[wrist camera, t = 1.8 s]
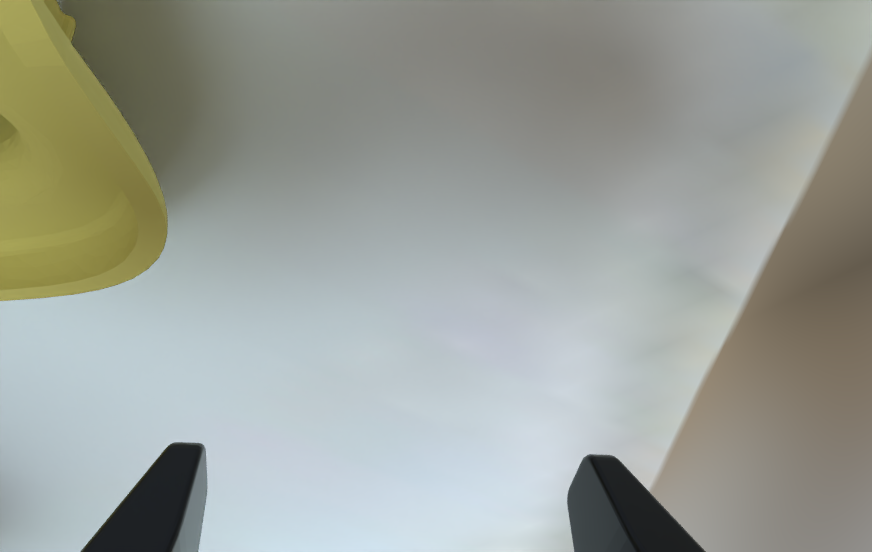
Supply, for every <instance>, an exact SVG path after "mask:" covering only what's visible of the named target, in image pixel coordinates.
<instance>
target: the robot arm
mask: <svg viewBox="0 0 872 552" xmlns="http://www.w3.org/2000/svg"><path fill="white" fill-rule="evenodd" d="M206 496H207V467H206V449H205V447H204V445H203V444H201V443H183V442H176V443H172V444H170V445H169V446H168V447H167V448H166V449H165V450H164V451H163V452H162V454H161V455H160V456H159V457H158V458H157V460H156V461H155V462H154V463H153V465H152V466H151V467H150V468H149V469H148V471H147V472H146V473H145V474H144V475H143V477H142V478H141V479H140V480H139V482H138V483H137V484H136V485H135V486H134V488H133V489H132V490H131V491H130V492H129V494H128V495H127V496H126V497H125V498H124V500H123V501H122V502H121V503H120V505H119V506H118V507H117V508H116V509H115V511H114V512H113V513H112V514H111V515H110V517H109V518H108V519H107V520H106V522H105V523H104V524H103V525H102V526H101V528H100V529H99V530H98V531H97V532H96V534H95V535H94V536H93V537H92V539H91V540H90V541H89V542H88V543H87V545H86V546H85V547H84V548H83V549H82V551H81V552H198V549H199V542H200V536H201V529H202V523H203V516H204V510H205V503H206ZM567 504H568V512H569V519H570V525H571V532H572V539H573V546H574V552H705V551H704V550H703V548H702V547H701V546H700V545H699V544H698V543H697V542H696V541H695V540H694V539H693V538H692V537H691V536H690V535H689V534H688V533H687V531H685V530H684V528H683V527H682V526H681V525H680V524H679V523H678V522H677V521H676V520H675V519H674V518H673V517H672V516H671V515H670V514H669V512H668V511H667V510H666V509H665V508H664V507H663V506H662V505H661V504H660V503H659V502H658V501H657V500H656V499H655V498H654V496H652V494H651V493H650V492H649V491H648V490H647V489H646V488H645V487H644V486H643V485H642V484H641V483H640V482H639V481H638V480H637V478H636V477H635V476H634V475H633V474H632V473H631V472H630V471H629V470H628V469H627V468H626V467H625V466H624V465H623V464H622V463H621V462H620V461H619V460H618V459H617V458H616V457H614V456H611V455H595V454H590V455H587V456H586V457H584V458H583V460H582V462H581V464H580V466H579V468H578V470H577V473H576V475H575V477H574V479H573V481H572V483H571V485H570V488H569V491H568V498H567Z"/></svg>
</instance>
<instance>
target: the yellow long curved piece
mask: <svg viewBox="0 0 872 552" xmlns="http://www.w3.org/2000/svg"><path fill="white" fill-rule="evenodd" d="M75 28H76V21H75V19H74V18H73V17H71V16H68V15H66V14H64V13H63V12H62V11H61V9H60V7H59V5H58V3H57V1H56V0H0V301H6V300H20V299H34V298H46V297H55V296H64V295H73V294H79V293H84V292H90V291H95V290H100V289H104V288H107V287H111V286H114V285H118V284H120V283H123V282H125V281H128V280H130V279H133V278H135V277H136V276H138V275H139V274H141V273H142V272H144V271H145V270H147V269H148V268H149V267H150V266H151V265H152V264H153V263H154V262H155V261H156V260H157V259H158V258H159V256H160V254H161V252H162V250H163V249H164V246H165V242H166V237H167V210H166V205H165V201H164V197H163V193H162V191H161V188H160V185H159V183H158V180H157V177H156V175H155V173H154V170H153V168H152V166H151V164H150V162H149V160H148V158H147V156H146V154H145V152H144V151H143V149H142V147H141V145H140V144H139V142H138V140H137V138H136V137H135V135H134V133H133V132H132V130H131V128H130V127H129V125H128V124H127V122H126V121H125V119H124V117H123V116H122V114H121V113H120V111H119V109H118V108H117V107H116V105H115V104H114V102H113V101H112V99H111V98H110V96H109V95H108V93H107V92H106V91H105V89H104V88H103V86H102V85H101V84H100V82H99V81H98V80H97V78H96V77H95V75H94V74H93V73H92V71H91V70H90V69H89V67H88V66H87V64H86V63H85V62H84V60H83V59H82V58H81V56H80V55H79V53H78V52H77V51H76V49H75V48H74V47H73V45H72V44H71V41H72V38H73V35H74V31H75Z"/></svg>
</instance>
